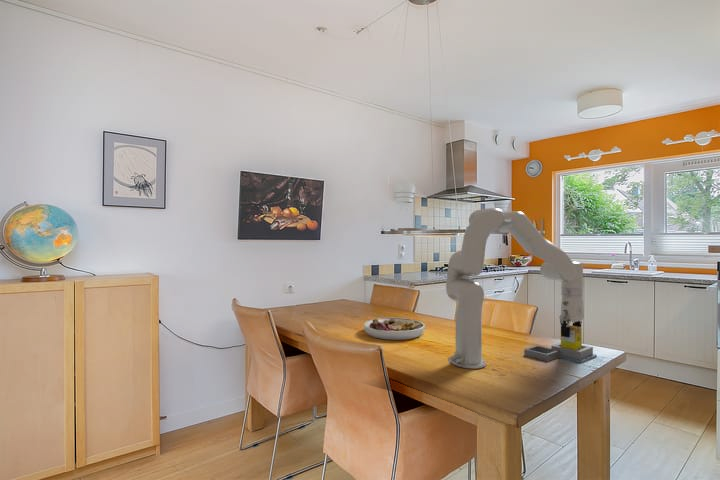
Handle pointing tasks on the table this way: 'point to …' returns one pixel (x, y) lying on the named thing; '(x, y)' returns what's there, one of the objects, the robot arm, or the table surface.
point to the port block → (575, 353)
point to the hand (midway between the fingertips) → (571, 334)
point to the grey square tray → (542, 353)
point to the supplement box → (573, 339)
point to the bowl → (394, 328)
